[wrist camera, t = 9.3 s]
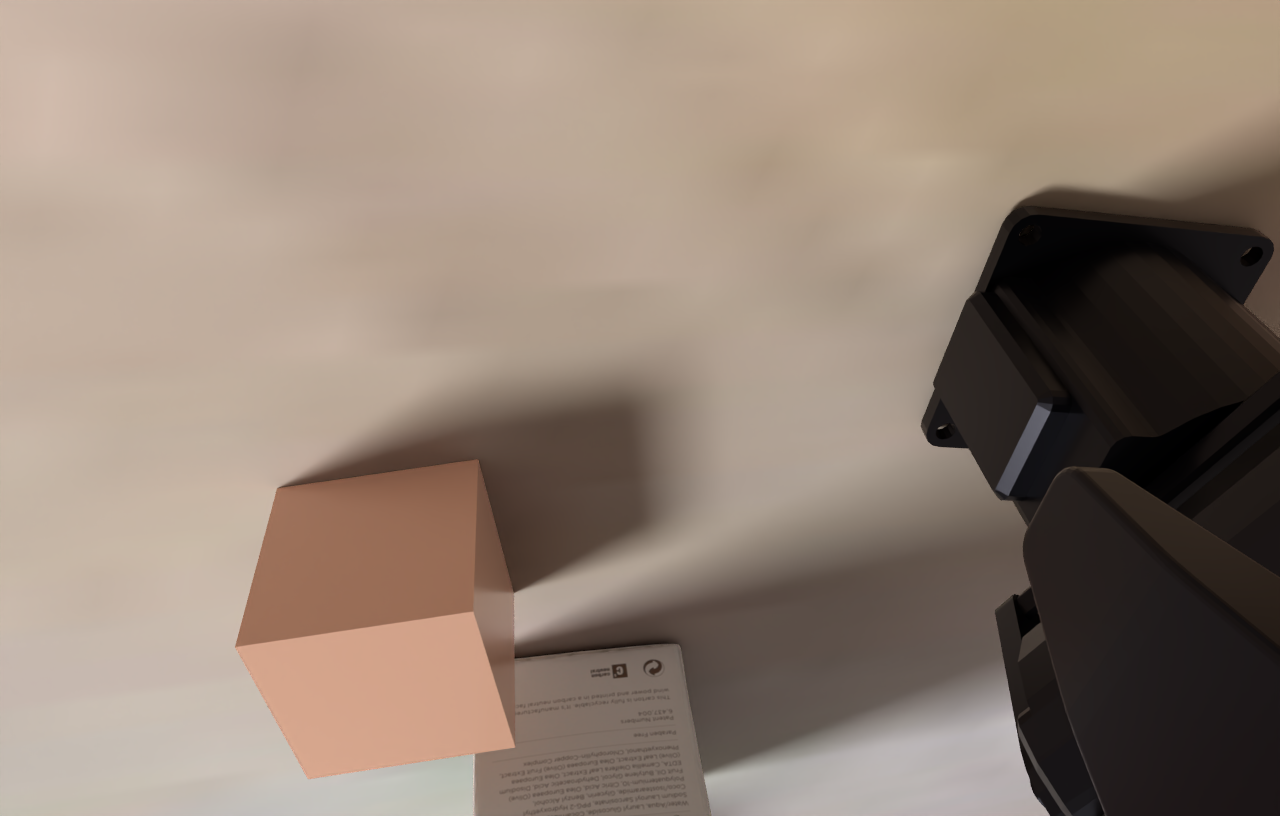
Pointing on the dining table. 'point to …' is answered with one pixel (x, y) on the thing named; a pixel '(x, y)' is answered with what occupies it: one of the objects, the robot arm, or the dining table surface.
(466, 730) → the terracotta cube
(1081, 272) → the robot arm
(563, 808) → the skincare box
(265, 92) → the dining table surface
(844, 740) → the dining table surface
